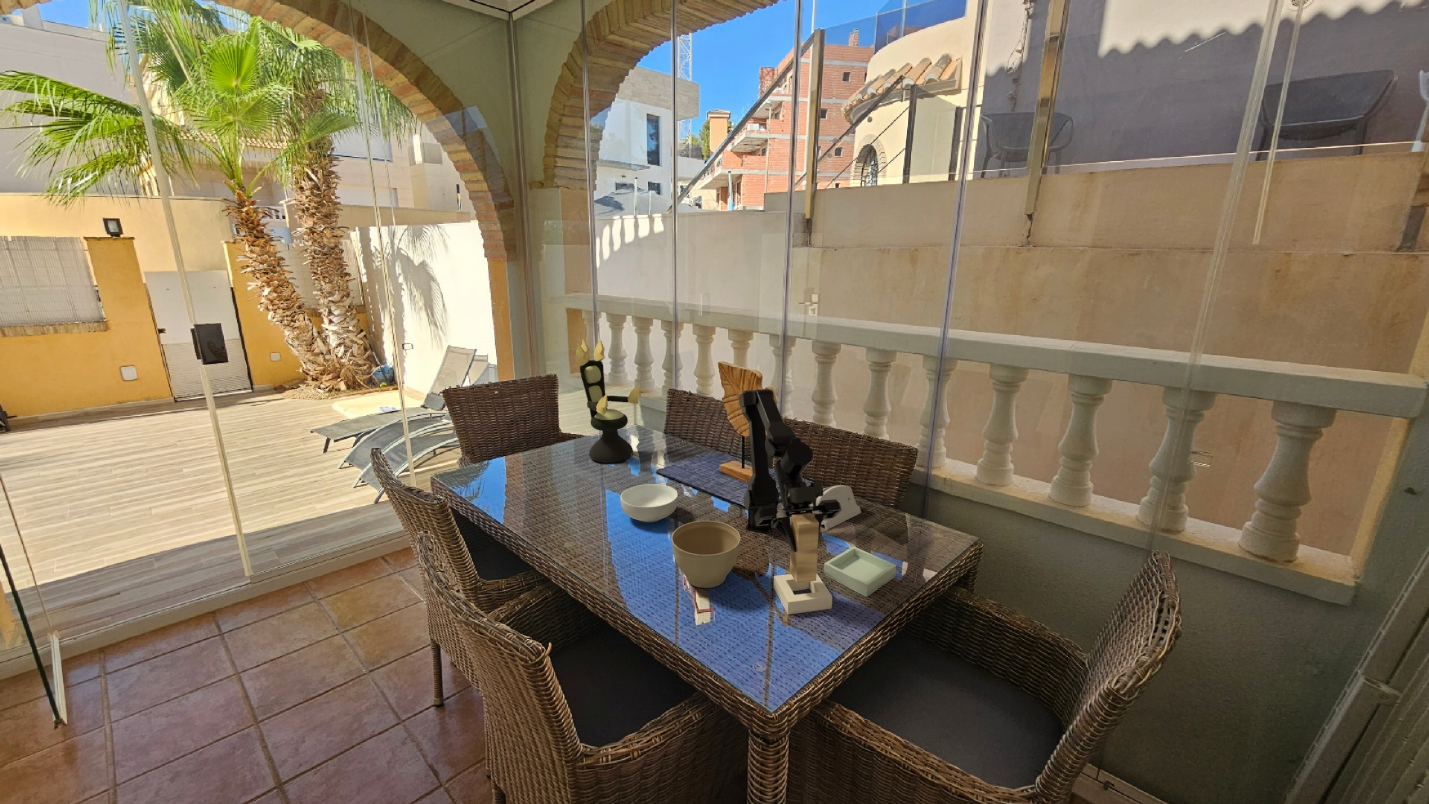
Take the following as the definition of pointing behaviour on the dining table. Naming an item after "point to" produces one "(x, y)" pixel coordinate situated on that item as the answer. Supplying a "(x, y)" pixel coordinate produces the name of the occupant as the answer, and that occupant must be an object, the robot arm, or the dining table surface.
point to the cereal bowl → (649, 502)
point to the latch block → (802, 602)
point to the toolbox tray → (860, 570)
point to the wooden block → (804, 547)
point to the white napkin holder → (846, 501)
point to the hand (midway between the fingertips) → (806, 550)
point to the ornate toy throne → (603, 407)
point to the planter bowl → (705, 551)
